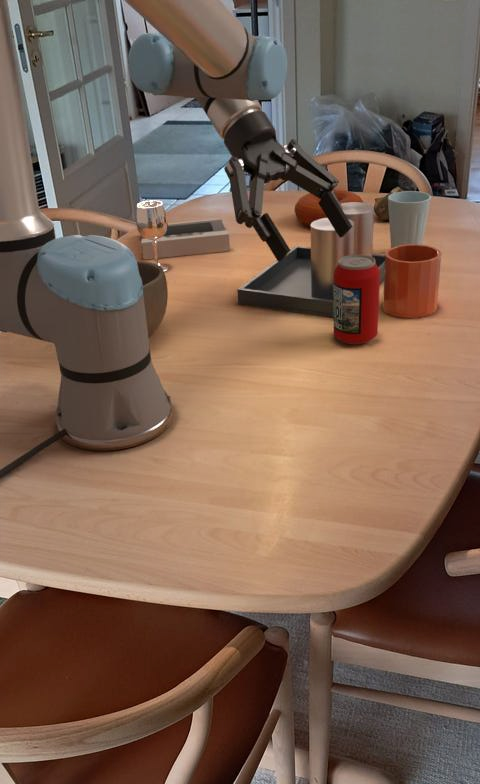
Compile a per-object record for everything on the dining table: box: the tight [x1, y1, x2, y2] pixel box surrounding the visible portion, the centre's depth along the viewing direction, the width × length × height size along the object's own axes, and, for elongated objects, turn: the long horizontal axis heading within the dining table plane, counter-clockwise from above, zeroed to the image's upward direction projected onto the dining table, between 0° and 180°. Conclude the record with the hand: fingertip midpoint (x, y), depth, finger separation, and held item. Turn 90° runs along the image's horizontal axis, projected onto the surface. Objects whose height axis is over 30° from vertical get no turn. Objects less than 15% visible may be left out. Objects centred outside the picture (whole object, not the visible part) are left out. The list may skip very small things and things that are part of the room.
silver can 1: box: [310, 218, 354, 300], centre depth 137 cm, size 7×7×12 cm
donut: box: [293, 189, 365, 227], centre depth 175 cm, size 15×15×5 cm
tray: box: [236, 245, 385, 318], centre depth 145 cm, size 24×20×3 cm
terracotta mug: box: [382, 244, 442, 319], centre depth 134 cm, size 12×9×9 cm
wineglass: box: [135, 200, 170, 272], centre depth 155 cm, size 6×6×12 cm
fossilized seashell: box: [373, 186, 405, 221], centre depth 174 cm, size 8×7×10 cm
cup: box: [388, 190, 432, 248], centre depth 154 cm, size 8×8×10 cm
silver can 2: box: [341, 202, 375, 257], centre depth 144 cm, size 7×7×12 cm
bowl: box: [136, 260, 169, 338], centre depth 131 cm, size 17×18×10 cm
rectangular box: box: [140, 218, 231, 261], centre depth 170 cm, size 17×5×16 cm
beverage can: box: [332, 255, 380, 345], centre depth 124 cm, size 7×7×12 cm
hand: (316, 244), depth 125 cm, fingers open, 13 cm apart
